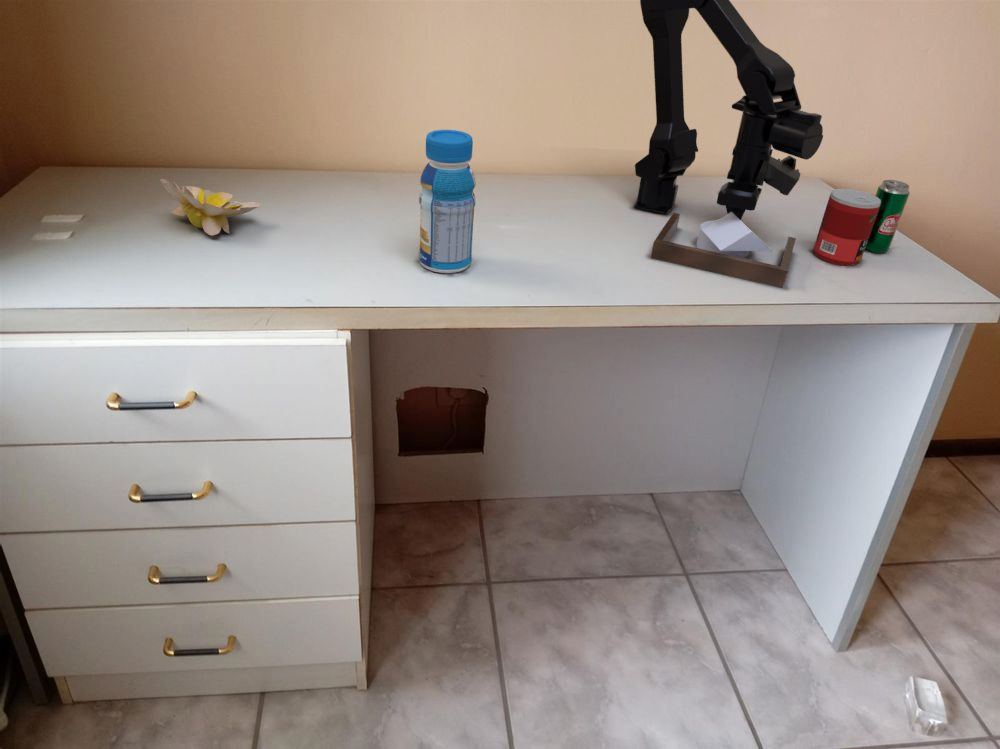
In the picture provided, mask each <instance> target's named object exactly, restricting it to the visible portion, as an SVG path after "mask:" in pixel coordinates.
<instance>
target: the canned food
mask: <svg viewBox="0 0 1000 749" xmlns="http://www.w3.org/2000/svg"><path fill="white" fill-rule="evenodd" d="M880 203H881V200H880V199H879V198H878V197H876V196H875V195H874V194H872V193H869V192H866V191H863V190H860V189H859V190H858V189H852V188H835V189H833V190H832V191H831V192H830V195H829V197H828V200H827V203H826V206H825V210H824V213H823V216H822V220H821V223H820V225H819V228H818V232H817V236H816V238H815V242H814V245H813V253H814V255H815V257H817V258H818V259H820V260H821V261H823V262H826V263H829V264H832V265H837V266H844V267H845V266H855V265H857V264H859V263H860V261H861V260H862V259H863V255H864V253H865V251H866V250H865V247H866V245H867V242H868V239H869V236H870V233H871V230H872V228H873V225H874V222H875V219H876V216H877V214H878V211H879V208H880Z"/></svg>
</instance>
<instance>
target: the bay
mask: <svg viewBox="0 0 1000 749" xmlns="http://www.w3.org/2000/svg"><path fill="white" fill-rule="evenodd" d="M680 217H681V213H678V212H673V213H672V214H671V216H670V217H669V218H668V220H667V222H666V223H665V225H664V226H663V227H662V229H661V230H660V231H659V233H658V235H657V236H656V238H655V239H654V241H653V244H652V248H651V249H652V250H651V253H650V254H651V255H650V259H654V260H658V261H662V262H667V263H672V264H676V265H680V266H685V267H690V268H693V269H698V270H703V271H707V272H712V273H716V274H720V275H724V276H729V277H734V278H737V279H742V280H747V281H751V282H755V283H759V284H764V285H767V286H773V287H777V288H783V287H784V283H785V281H786V277H787V274H788V270H789V266H790V263H791V258H792V256H793V251H794V247H795V244H796V240H797V238H796V237H793V236H788V238H787V242H786V245H785V248H784V252H783V256H782V259H781V262H780V265H775V264H771V263H766V262H762V261H758V260H753V259H749V258H740V257H735V256H731V255H726V254H722V253H717V252H712V251H708V250H703V249H699V248H697V247H693V246H690V245H685V244H680V243H675V242H671V239H672V238H673V236H674V234H675V233H676V232H677V230H678V226H679V221H680Z"/></svg>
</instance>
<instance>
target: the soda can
mask: <svg viewBox="0 0 1000 749" xmlns="http://www.w3.org/2000/svg"><path fill="white" fill-rule="evenodd" d="M881 182H882V183H881V184H880V185H878V187H877V189H876V193H875V195H874V196H876V197H878V198H879V199H880V200H881V203H880V208H879V211H878V214H877V216H876V219H875V222H874V225H873V228H872V230H871V233H870V236H869V239H868V242H867V245H866V247H865V250H864V251H867V252H870V253H874V254H884V253H886V252H887V251H889V250H890V247H891V245H892V243H893V241H894V237H895V234H896V231H897V229H898V226H899V223H900V221H901V218H902V215H903V213H904V209H905V208H906V205H907V202H908V198H909V196H910V190H909V189H910V185H909V184H908V183H906V182H904V181H899V180H895V179H884V180H882V181H881Z"/></svg>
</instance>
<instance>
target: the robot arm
mask: <svg viewBox="0 0 1000 749" xmlns="http://www.w3.org/2000/svg"><path fill="white" fill-rule="evenodd" d="M639 5H640V9H641V16H642V21H643V24H644V25H645V27H646V30H647V31H648V33H649V35H650V36H651V39H652V50H653V51H652V52H653V53H652V54H653V76H654V95H655V96H654V97H655V99H654V100H655V116H656V121H655V127H654V128H653V131H652V134H651V136H650V138H649V141H648V142H649V143H648V144H649V145H648V154H646V155H645V156H643V157H642V158H641V159H640V160H638V161H637V162H636V163H635V164H634V172H635V176H636V177H639V178H640V182H639V185H638V192H637V199H636V202H635V203H634V205H633V208H634V209H637V210H641V211H646V212H650V213H651V212H652V213H656V214H661V215H668V214H669V212H670V210H672V209H674V206H675V205H676V202H677V201H676V200H677V195H678V190H679V185H678V184H677V180H678V177H682V176H684V174H685V173H686V171H687V169H688V168H689V167H691V165H693V163H694V162H695V159H696V153H698V152H699V147H698V143H697V139H698V131H697V129H696V128H692V129H690V127H689V126H688V124H687V122H686V120H685V102H684V99H685V98H684V76H683V75H684V74H683V73H684V72H683V48H682V47H683V46H682V35H683V31H684V29H685V27H686V24H687V23H688V22H687V21H688V19H689V17H690V9H695V11H696V12H698V14H699V16H700V17H701V18H702V20H703V21H704V22H705V23H706V25H707V26H708V28H709V29H710V30H711V32H712V33H713V35H714V36H715V38H716V39H717V40H718V42H719V43H720V44H721V46H722V47H723V49H724V50H725V51H726V52H727V54H728V55H729V56H730V58H731V59H732V61H733V63H734V65H735V67H736V68H735V69H736V77H737V80H738V82H739V85H740V86H741V88H742V91H743V92H744V95H743V96H742V97H741V98H740V99H739V100H737V101H736V102H734V103H733V104H732V105H731V109H732V110H735V111H739V112H742V114H741V119H740V123H739V127H738V131H737V135H736V141H735V145H734V147H733V148H732V153H731V155H732V157H731V158H732V159H731V162H730V167H729V170H728V172H727V176H726V179H727V180H732V181H728V182H726V183H724V184H723V185H722V186H721V187H720V189H719V191H718V194H717V198H716V204H717V205H719V206H723V207H725V210H726V212H727V213H726V215H727V214H729V213H730V212H732V213H733V214H734V215H735V216H737V217H738V218H739V219H740V220H741V221H742V219H743V216H744V214H745V212H746V211H750V212H752V211H755V209H756V207H757V205H758V201H759V199H760V195H761V193H762V190H763V188H761V187H763V186H764V183H765V184H767V185H768V186H770V187H772V189H773V188H774V189H775V190H777V191H778V192H779V193H780V194H782V195H784V196H789V194H790V193H791V192H792V191H793V189H794V187H795V186H796V184H798V182H799V180H800V178H801V172H800V169H798V168H797V169H796V166H797V158H799V159H802V160H809V159H811V158H813V156H814V155H815V154H816V153H817V152H818V150H819V148H820V147H821V144H822V141H823V140H824V139H823V138H824V135H823V132H824V131H823V130H824V129H823V124H821V120H822V117H823V116H822V114H820V113H817V112H811V113H810V112H808V111H804V110H802V104H801V101H800V98H799V94H798V91H797V88H796V85H795V78H796V73H795V71H794V68H793V66H792V65H791V64H790V63H788V61H787V60H786V59H784V58H783V56H781V55H780V53H779V54H778V53H777V52H776V51H774V50H772V49H770V48H769V47H767V46H765V45H764V44H763V43H762V42H761V41H760V40H759V38H758V37H757V36H756V33H754V31H753V30H752V28H750V26H749V25H748V23H747V22H746V21H745V19H744V18H743V16H742V15H741V14H740V13H739V11H738V10H737V9H736V8H735V6H734V4H733V3H732V2H731V1H730V0H639ZM780 99H781V100H780ZM775 100H779V101H775ZM773 149H774V150H775V151H778V152H781V153H784V154H787V156H786V157H784V158H781V159H780V158H778V159H777V158H776V157H773V156H772V155H773V151H774V150H773ZM795 157H797V158H795ZM759 186H760V187H759Z"/></svg>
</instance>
